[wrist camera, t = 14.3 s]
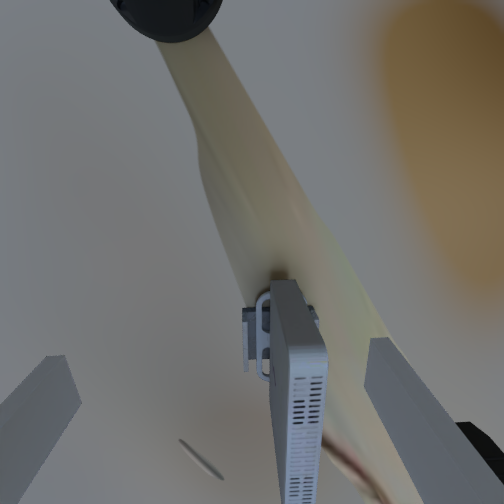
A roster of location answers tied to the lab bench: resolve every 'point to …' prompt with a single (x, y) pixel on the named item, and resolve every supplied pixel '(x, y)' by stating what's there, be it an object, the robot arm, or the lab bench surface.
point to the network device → (294, 388)
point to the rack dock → (250, 332)
